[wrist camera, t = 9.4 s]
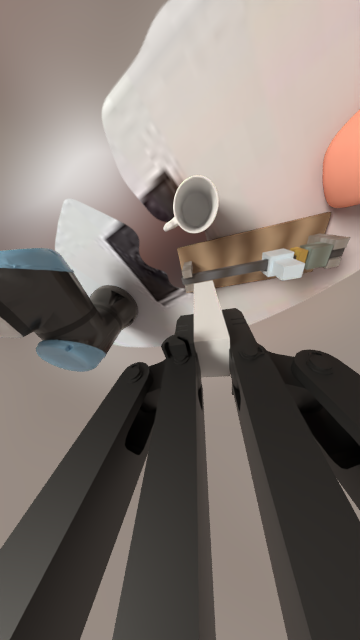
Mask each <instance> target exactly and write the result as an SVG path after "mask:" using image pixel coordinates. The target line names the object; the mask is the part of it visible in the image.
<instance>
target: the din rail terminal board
mask: <svg viewBox="0 0 360 640" xmlns="http://www.w3.org/2000/svg"><path fill="white" fill-rule="evenodd" d="M330 216H331V212H326V213H322V214H318V215H314V216H309V217H305V218H301V219H297V220H293V221H289V222H284V223H280V224H276V225H272V226H268V227H263V228H259V229H255V230H251V231H247V232H243V233H238V234H234V235H230V236H226V237H222V238H218V239H213V240H209V241H206V242H201V243H197V244H193V245H188V246H184V247H181V248H177V250H178V255H179V259H180V264H181V269H182V274H183V276H182V282H183V285H185V288H186V292H187V293H189V292H194V284H195V283H201V282H207V281H212V280H213V283H214V287H215V288H218V287H224V286H230V285H236V284H242V283H248V282H254V281H259V280H265V279H271V278H277V277H276V276H271V277H267V276H266V275H265V274H263V273H262V272H261V271H263V270H267V268H268V261H269V260H268V259H264V260H262V254H263V252H268V251H273V250H278V249H282V248H284V249H287V250H290V251H293V252H294V257H293V259H296V260H298V261H301V262H303V263H305V266H304V270H303V273H307V272H312V271H313V269H314V268H320V267H323V268H325V269H327V268H333V267H338V266H339V263H340V261H341V258H340V256H342V254H343V252H344V249H345V248H346V246H347V244H348V242H349V239H350V237H343V236H336V235H328V234H325V231H326V228H327V225H328V222H329V219H330Z"/></svg>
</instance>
